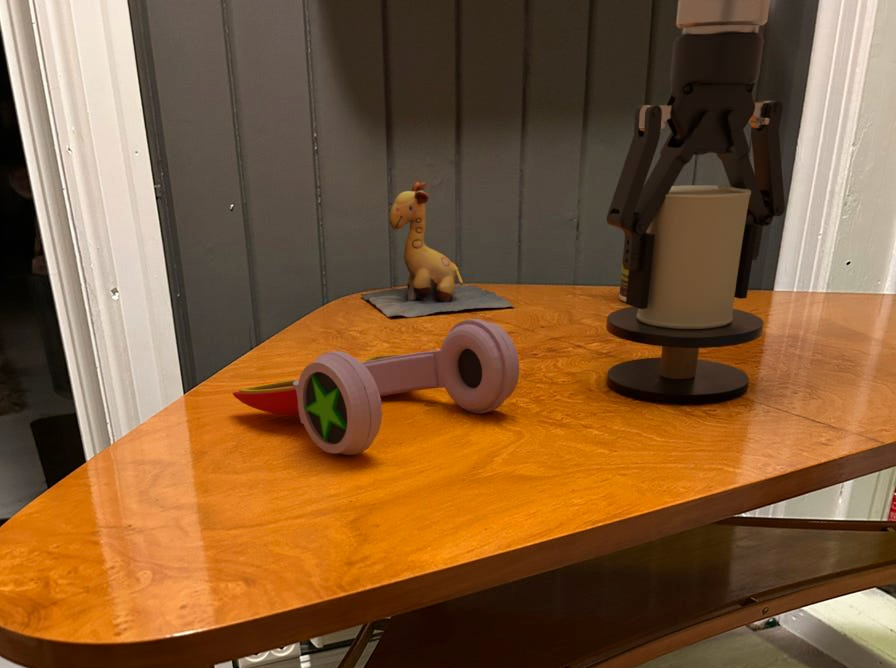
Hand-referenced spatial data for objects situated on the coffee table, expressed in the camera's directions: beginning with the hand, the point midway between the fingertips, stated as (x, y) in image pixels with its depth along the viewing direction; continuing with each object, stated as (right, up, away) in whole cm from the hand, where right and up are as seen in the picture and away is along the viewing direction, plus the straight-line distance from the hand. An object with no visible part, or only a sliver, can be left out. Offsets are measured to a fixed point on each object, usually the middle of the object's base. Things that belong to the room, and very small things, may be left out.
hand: (686, 301), depth 92 cm
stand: (0, -7, +4) cm, 8 cm away
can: (0, -2, +1) cm, 2 cm away
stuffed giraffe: (-24, +15, +42) cm, 50 cm away
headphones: (-31, -12, -3) cm, 33 cm away
